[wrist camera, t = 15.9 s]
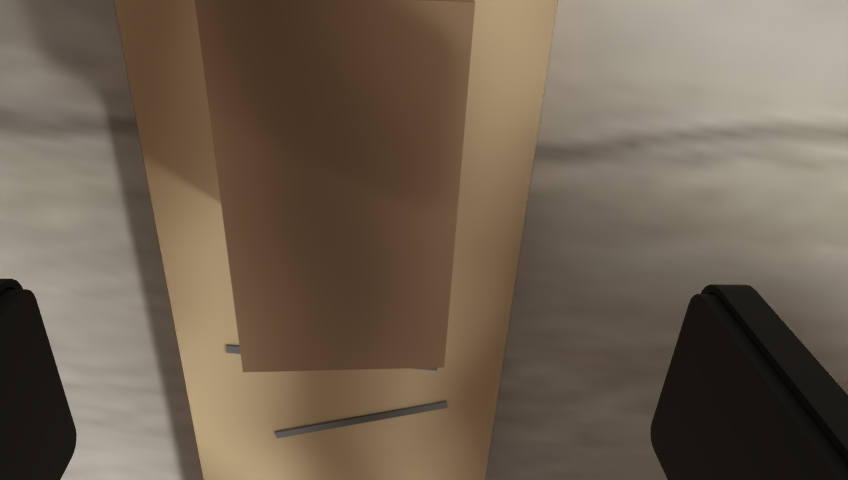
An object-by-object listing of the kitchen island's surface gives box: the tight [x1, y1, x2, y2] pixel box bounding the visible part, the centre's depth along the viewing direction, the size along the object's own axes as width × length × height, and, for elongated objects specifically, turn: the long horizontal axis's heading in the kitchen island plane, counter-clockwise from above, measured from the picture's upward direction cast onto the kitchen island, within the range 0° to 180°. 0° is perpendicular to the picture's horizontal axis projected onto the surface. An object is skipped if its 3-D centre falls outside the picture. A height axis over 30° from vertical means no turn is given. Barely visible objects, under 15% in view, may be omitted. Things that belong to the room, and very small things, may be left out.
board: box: [114, 0, 558, 480], centre depth 22 cm, size 11×28×2 cm, turn 177°
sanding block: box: [195, 0, 475, 372], centre depth 15 cm, size 4×8×6 cm, turn 177°
